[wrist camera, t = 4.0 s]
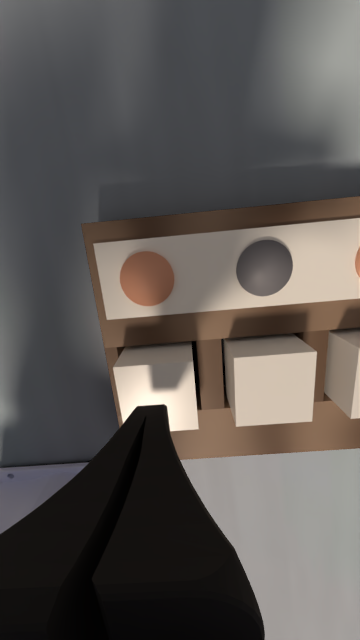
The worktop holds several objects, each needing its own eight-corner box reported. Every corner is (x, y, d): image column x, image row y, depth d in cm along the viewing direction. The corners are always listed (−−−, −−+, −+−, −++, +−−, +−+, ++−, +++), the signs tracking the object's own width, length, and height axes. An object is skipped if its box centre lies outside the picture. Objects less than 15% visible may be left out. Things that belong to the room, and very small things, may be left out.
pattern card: (107, 318, 13) (105, 320, 13) (94, 243, 12) (91, 243, 12) (423, 292, 13) (430, 293, 12) (438, 210, 12) (447, 209, 11)
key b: (226, 394, 16) (236, 426, 13) (223, 337, 15) (233, 358, 12) (288, 390, 16) (312, 421, 13) (290, 331, 15) (316, 351, 12)
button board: (133, 435, 19) (126, 463, 16) (97, 228, 14) (80, 223, 12) (373, 419, 18) (403, 445, 16) (406, 198, 14) (453, 186, 11)
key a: (135, 401, 16) (125, 434, 13) (126, 345, 15) (112, 367, 12) (195, 396, 16) (198, 429, 13) (190, 339, 15) (193, 361, 12)
